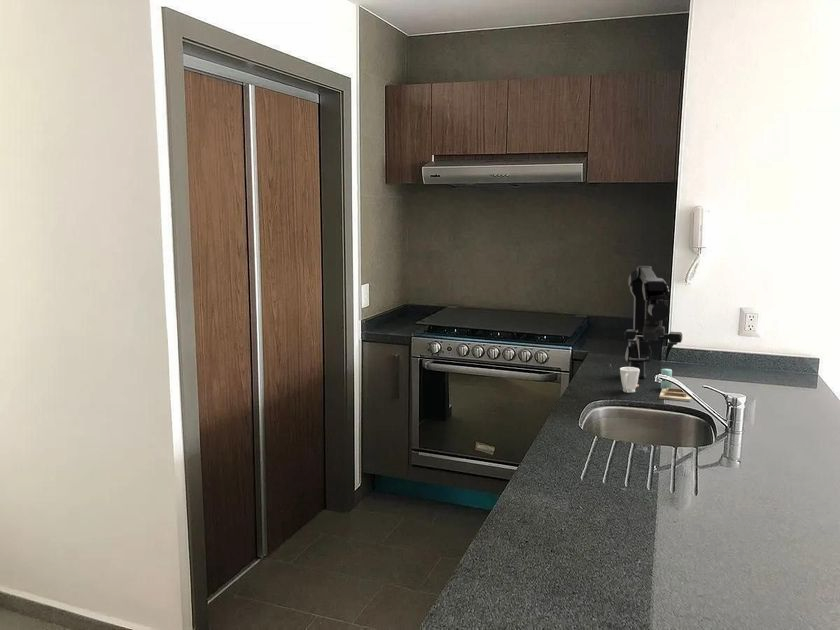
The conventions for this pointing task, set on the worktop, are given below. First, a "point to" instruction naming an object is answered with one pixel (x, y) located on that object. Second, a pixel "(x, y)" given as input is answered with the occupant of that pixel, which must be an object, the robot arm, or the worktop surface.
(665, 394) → the board
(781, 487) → the worktop surface
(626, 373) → the cup
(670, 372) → the peg
